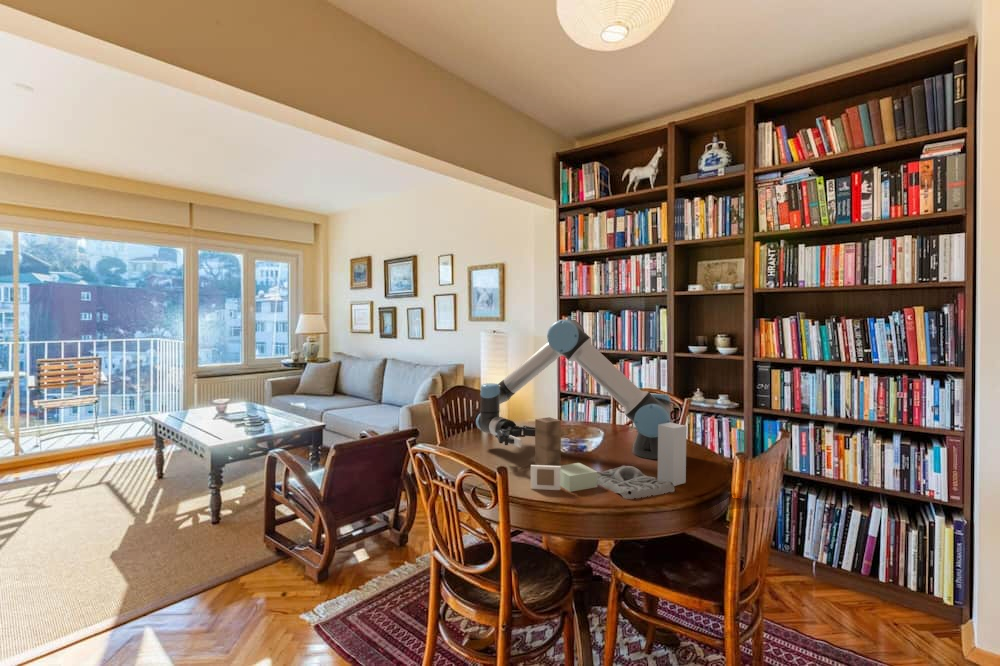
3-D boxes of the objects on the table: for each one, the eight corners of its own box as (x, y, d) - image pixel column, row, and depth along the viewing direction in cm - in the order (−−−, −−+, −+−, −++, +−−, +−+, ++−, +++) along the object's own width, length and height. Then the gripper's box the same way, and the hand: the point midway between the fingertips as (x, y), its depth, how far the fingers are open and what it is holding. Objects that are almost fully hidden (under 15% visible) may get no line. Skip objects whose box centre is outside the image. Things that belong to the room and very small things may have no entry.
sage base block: (579, 477, 158) (579, 462, 158) (597, 487, 149) (597, 471, 149) (552, 482, 154) (552, 466, 154) (569, 492, 145) (569, 476, 145)
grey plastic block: (669, 477, 158) (670, 422, 157) (685, 482, 153) (686, 425, 152) (657, 480, 154) (658, 424, 154) (673, 486, 149) (674, 428, 149)
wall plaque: (678, 492, 146) (678, 479, 145) (627, 502, 138) (627, 488, 138) (628, 469, 167) (628, 458, 167) (581, 477, 160) (581, 465, 160)
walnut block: (549, 469, 166) (549, 417, 165) (560, 474, 161) (560, 420, 160) (535, 472, 162) (535, 419, 162) (546, 477, 157) (546, 422, 157)
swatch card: (530, 487, 148) (530, 464, 148) (560, 488, 147) (560, 466, 147) (530, 489, 147) (530, 466, 146) (560, 490, 146) (560, 467, 145)
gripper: (530, 433, 190) (565, 446, 172) (474, 442, 177) (506, 457, 159) (530, 414, 190) (565, 425, 172) (474, 422, 177) (506, 434, 159)
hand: (537, 440), depth 166 cm, fingers open, 13 cm apart
